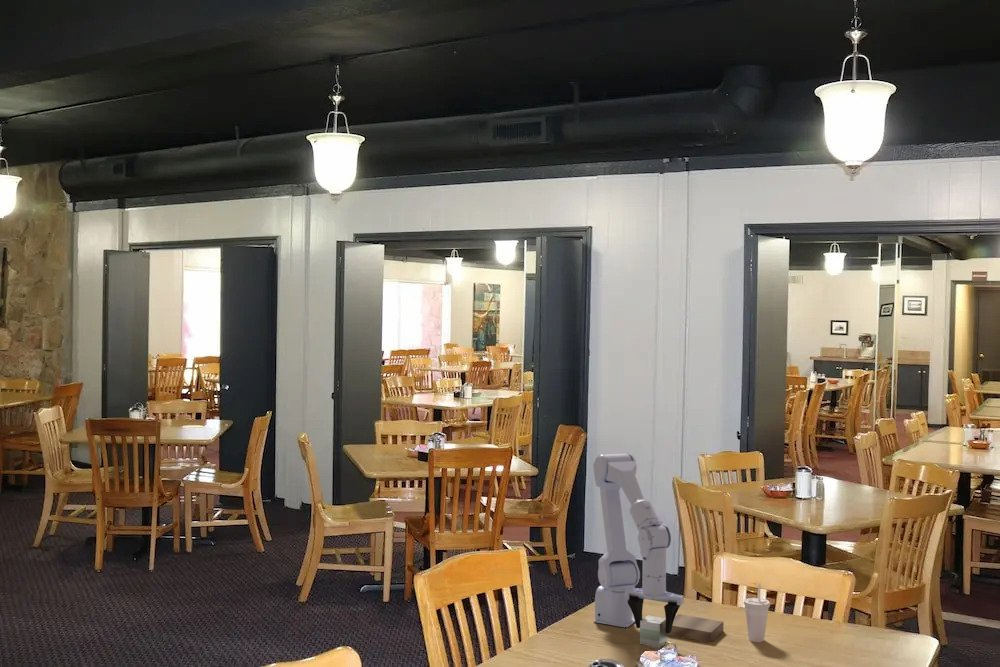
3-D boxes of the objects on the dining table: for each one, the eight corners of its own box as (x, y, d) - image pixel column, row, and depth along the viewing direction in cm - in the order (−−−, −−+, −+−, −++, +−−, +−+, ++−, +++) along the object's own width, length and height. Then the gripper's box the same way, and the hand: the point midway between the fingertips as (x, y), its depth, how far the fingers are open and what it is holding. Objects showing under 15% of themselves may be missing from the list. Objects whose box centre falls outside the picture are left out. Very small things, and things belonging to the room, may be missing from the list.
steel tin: (639, 644, 238) (640, 620, 238) (647, 639, 242) (647, 615, 242) (659, 648, 235) (659, 624, 235) (666, 642, 240) (667, 618, 239)
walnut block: (664, 636, 246) (664, 624, 246) (678, 625, 254) (678, 614, 254) (710, 644, 240) (711, 632, 239) (723, 633, 248) (723, 621, 248)
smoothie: (770, 644, 238) (771, 588, 238) (743, 643, 239) (744, 586, 239) (768, 636, 244) (769, 581, 244) (742, 634, 246) (743, 579, 245)
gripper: (620, 574, 238) (619, 629, 239) (676, 582, 231) (676, 639, 231) (631, 567, 245) (631, 621, 245) (686, 575, 237) (686, 631, 237)
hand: (653, 629), depth 238 cm, fingers open, 7 cm apart
